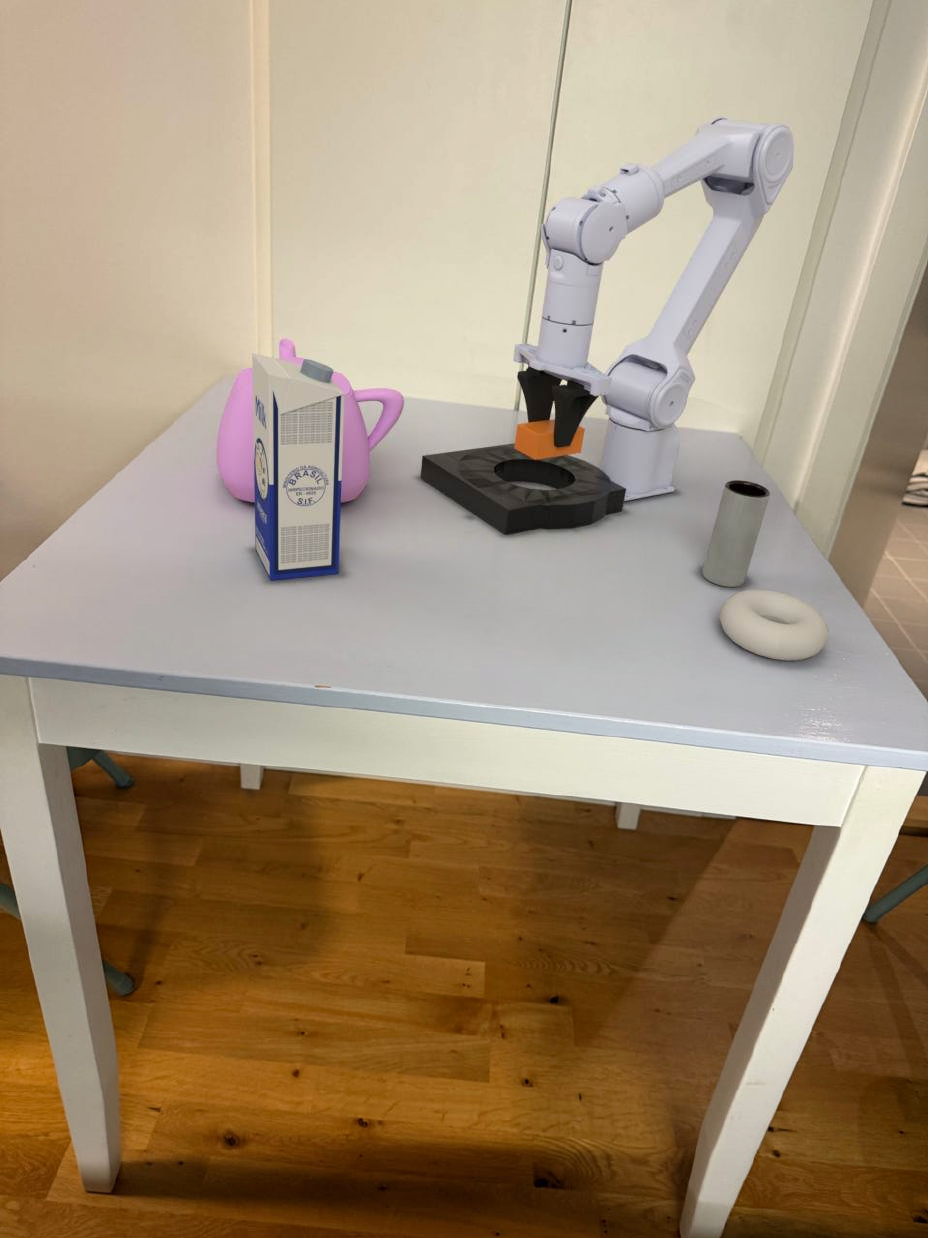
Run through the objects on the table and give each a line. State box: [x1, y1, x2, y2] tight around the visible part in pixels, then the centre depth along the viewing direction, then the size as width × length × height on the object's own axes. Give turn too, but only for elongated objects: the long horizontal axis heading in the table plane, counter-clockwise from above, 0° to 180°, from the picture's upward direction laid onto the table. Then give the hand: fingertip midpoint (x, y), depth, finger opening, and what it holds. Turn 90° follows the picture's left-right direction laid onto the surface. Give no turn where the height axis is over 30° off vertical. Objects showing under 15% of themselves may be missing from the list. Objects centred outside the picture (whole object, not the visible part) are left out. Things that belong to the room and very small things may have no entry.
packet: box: [514, 418, 586, 460], centre depth 104 cm, size 7×4×3 cm, turn 125°
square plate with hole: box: [420, 442, 626, 536], centre depth 110 cm, size 20×20×3 cm
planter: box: [701, 479, 771, 588], centre depth 94 cm, size 4×4×10 cm
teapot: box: [215, 338, 405, 504], centre depth 105 cm, size 23×21×15 cm
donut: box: [719, 589, 829, 662], centre depth 85 cm, size 10×4×10 cm
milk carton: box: [251, 353, 345, 582], centre depth 84 cm, size 7×7×20 cm
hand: (549, 439), depth 104 cm, fingers closed on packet, 4 cm apart
